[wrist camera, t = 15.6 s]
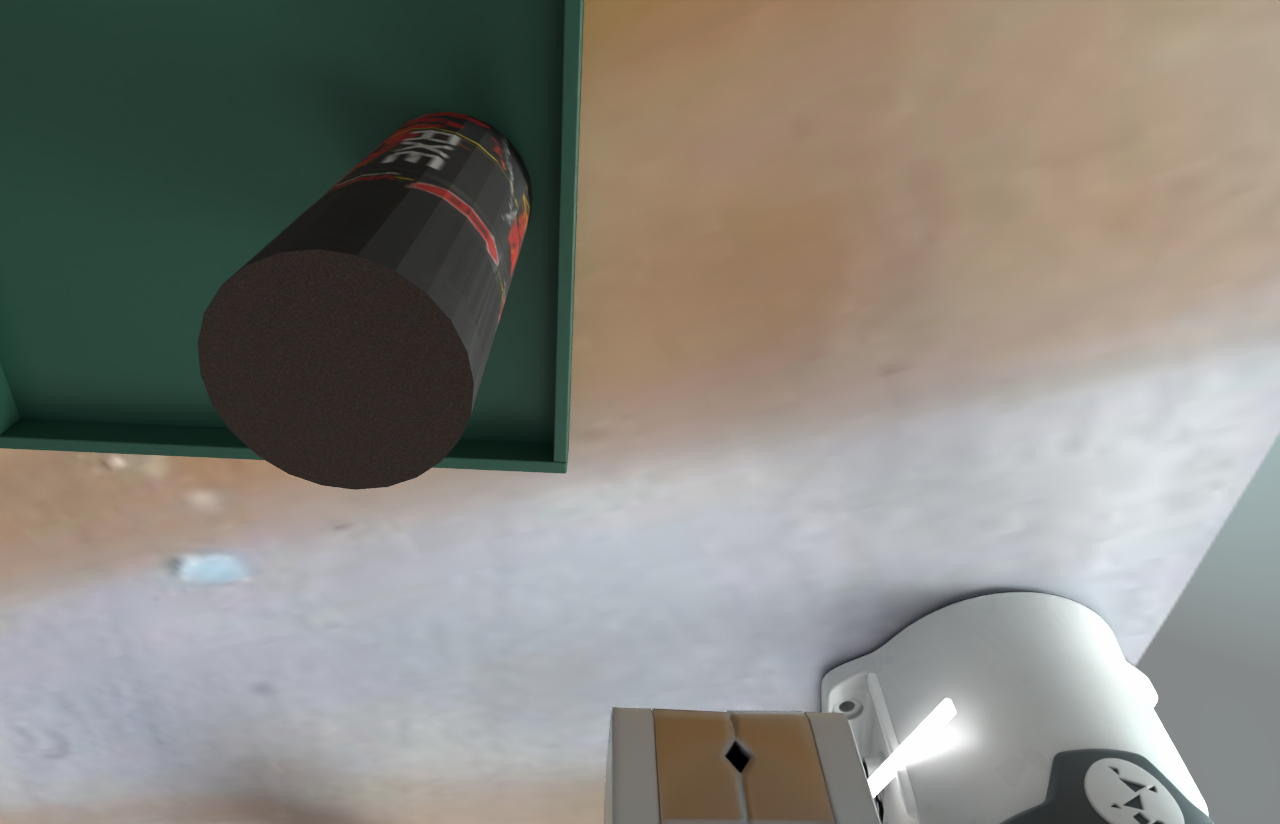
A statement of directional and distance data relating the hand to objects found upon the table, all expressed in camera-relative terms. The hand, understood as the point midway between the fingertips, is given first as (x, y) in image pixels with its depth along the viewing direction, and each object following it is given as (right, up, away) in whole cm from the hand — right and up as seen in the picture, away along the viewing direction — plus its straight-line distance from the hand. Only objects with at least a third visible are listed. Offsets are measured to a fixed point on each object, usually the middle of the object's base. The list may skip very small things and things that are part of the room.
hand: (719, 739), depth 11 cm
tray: (-15, +13, +20) cm, 29 cm away
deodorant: (-8, +13, +21) cm, 25 cm away
